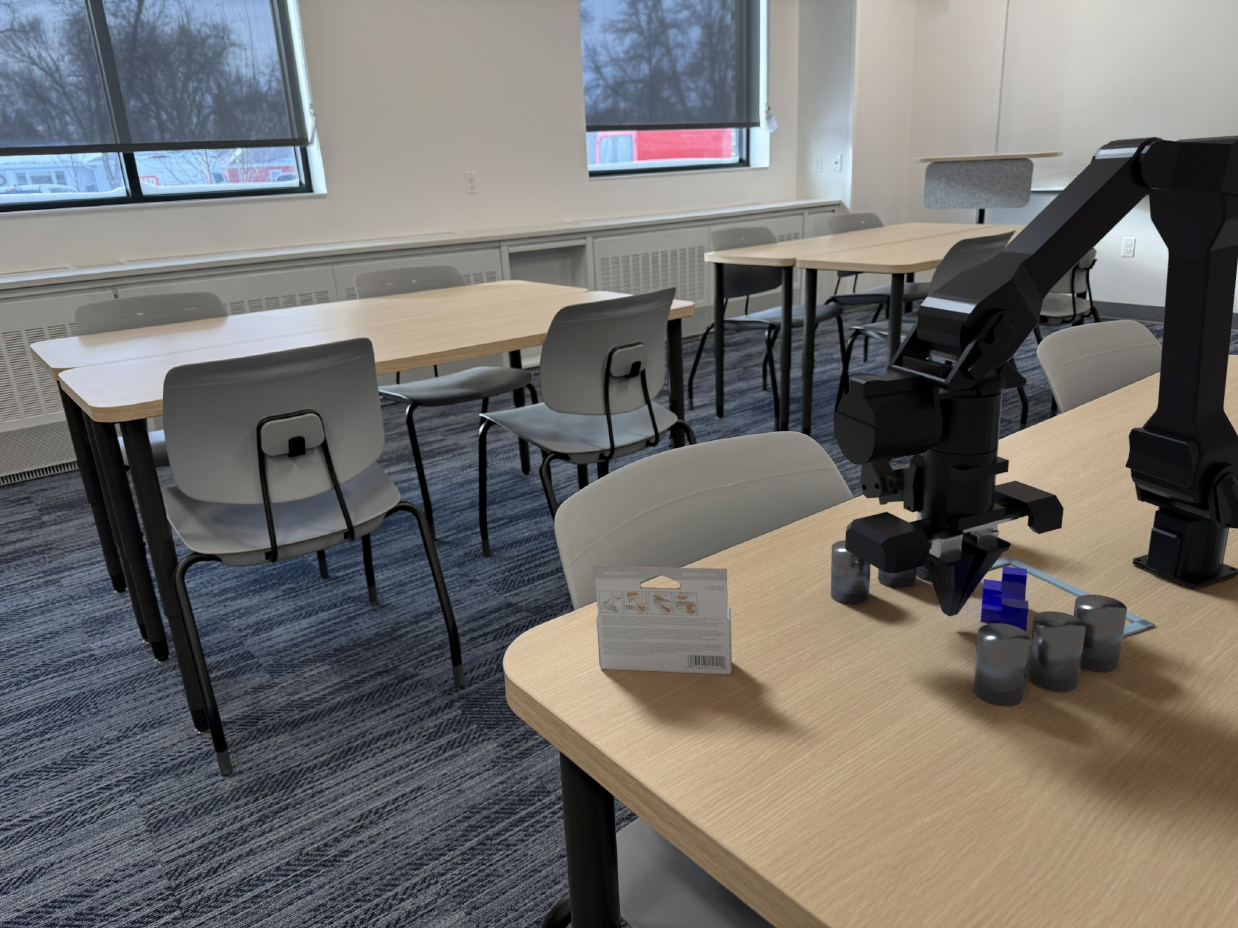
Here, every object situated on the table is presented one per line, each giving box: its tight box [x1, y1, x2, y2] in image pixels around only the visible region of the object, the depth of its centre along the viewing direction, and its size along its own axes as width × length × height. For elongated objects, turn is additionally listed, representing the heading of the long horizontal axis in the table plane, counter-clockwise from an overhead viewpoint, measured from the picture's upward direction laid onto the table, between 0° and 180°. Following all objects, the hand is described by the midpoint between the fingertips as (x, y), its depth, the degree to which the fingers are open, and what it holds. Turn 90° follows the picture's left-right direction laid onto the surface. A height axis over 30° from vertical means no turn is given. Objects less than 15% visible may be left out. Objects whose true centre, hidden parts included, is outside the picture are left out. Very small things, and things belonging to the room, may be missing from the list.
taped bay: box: [990, 556, 1155, 637], centre depth 79 cm, size 8×16×1 cm, turn 22°
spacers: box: [830, 540, 1128, 707], centre depth 75 cm, size 14×23×5 cm, turn 22°
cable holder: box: [980, 565, 1030, 632], centre depth 75 cm, size 8×4×4 cm, turn 157°
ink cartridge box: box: [592, 566, 733, 675], centre depth 71 cm, size 2×11×10 cm, turn 80°
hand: (949, 613), depth 75 cm, fingers closed
